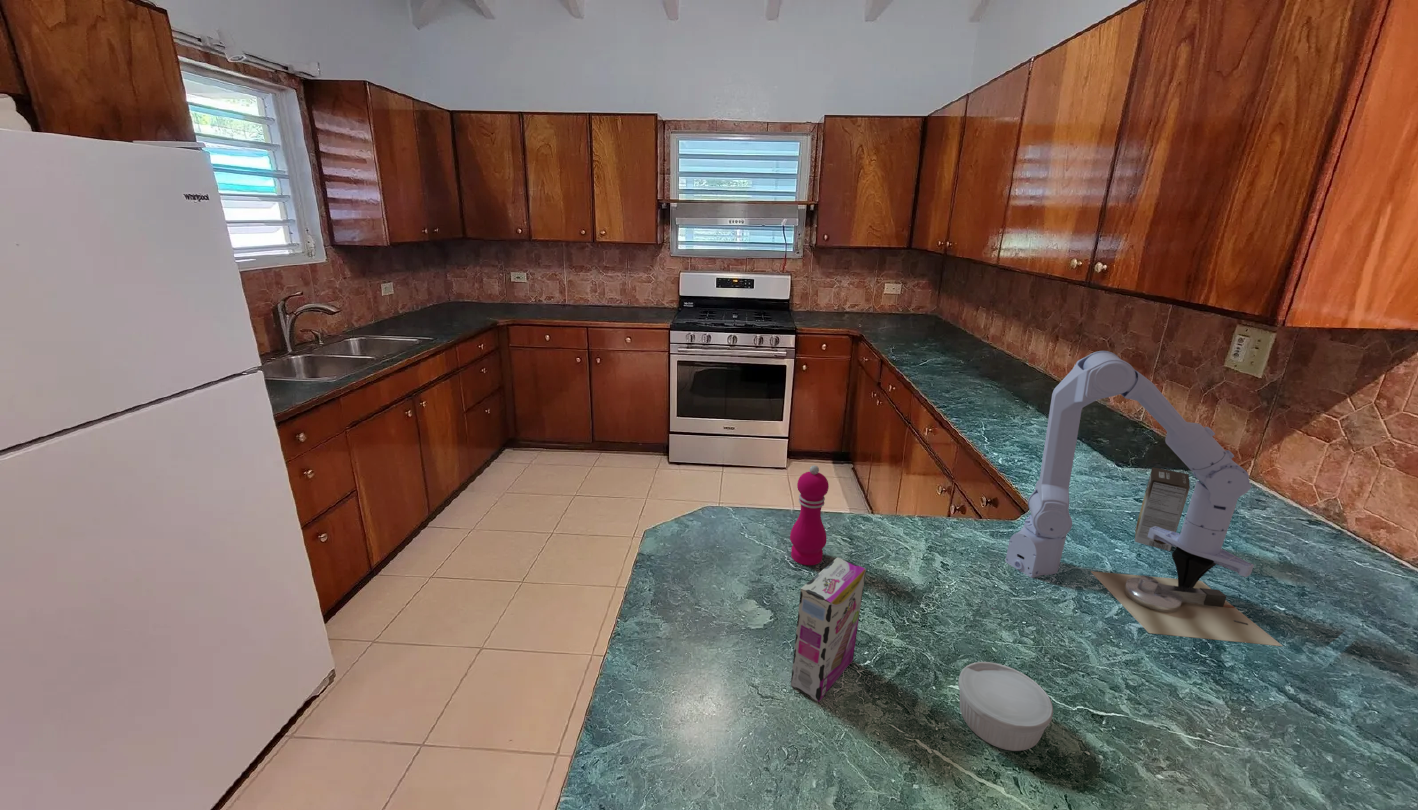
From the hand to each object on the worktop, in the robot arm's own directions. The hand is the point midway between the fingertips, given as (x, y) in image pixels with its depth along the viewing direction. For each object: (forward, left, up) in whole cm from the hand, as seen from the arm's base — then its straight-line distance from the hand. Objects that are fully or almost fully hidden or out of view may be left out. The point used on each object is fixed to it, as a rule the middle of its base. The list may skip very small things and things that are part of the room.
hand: (1184, 589), depth 101 cm
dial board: (-4, -1, -2) cm, 5 cm away
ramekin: (-55, -7, -3) cm, 56 cm away
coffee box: (+18, +15, -3) cm, 24 cm away
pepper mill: (-57, +37, -3) cm, 68 cm away
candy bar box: (-72, +9, -3) cm, 73 cm away
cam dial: (-4, 0, -1) cm, 4 cm away
